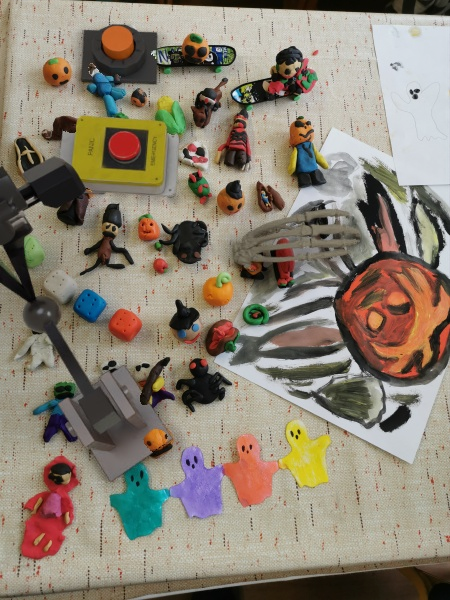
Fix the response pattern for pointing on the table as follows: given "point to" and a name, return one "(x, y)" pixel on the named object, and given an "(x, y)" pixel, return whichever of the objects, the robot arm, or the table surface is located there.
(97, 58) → the button box
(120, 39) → the orange button
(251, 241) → the skeletal hand
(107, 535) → the table surface
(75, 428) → the switch bracket
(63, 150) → the emergency button
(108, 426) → the switch lever
